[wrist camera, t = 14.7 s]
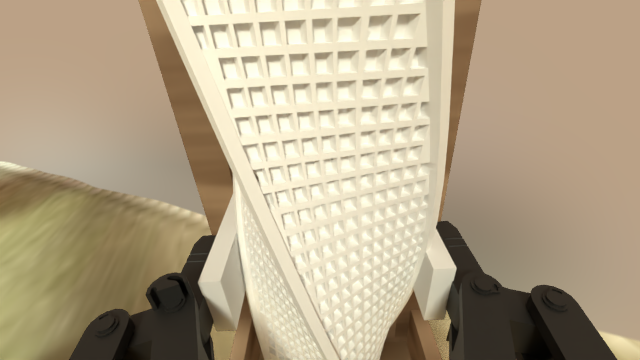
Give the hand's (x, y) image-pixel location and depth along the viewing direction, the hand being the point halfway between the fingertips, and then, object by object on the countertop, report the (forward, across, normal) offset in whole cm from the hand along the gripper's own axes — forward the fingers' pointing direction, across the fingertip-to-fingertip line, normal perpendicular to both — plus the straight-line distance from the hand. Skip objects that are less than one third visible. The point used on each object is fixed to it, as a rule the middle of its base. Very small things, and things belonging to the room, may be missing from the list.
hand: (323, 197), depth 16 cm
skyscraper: (-5, 0, -16) cm, 16 cm away
